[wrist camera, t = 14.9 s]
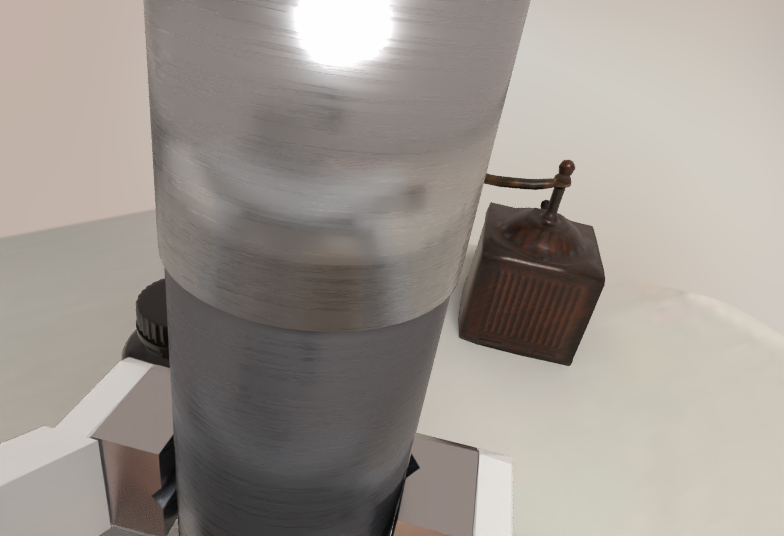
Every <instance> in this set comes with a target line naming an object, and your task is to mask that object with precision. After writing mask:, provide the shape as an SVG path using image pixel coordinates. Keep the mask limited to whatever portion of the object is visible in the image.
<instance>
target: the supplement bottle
mask: <svg viewBox="0 0 784 536" xmlns="http://www.w3.org/2000/svg"><path fill="white" fill-rule="evenodd" d="M136 315H137V321H136V328H137V329H136V330H135V331H134V332H133V333H132V334H131V336H130V337H129V339H128V340H127V342H126V344H125V346H124V349H123V352H122V358H121V360H124V359H126V358H128V357H130V358H134V359H137V360H141V361H144V362H148V363H151V364H155V365H160V366H164V367H167V368H170V360H169V341H168V323H167V304H166V286H165V279H161V280H159V281H157V282H154V283H152V285H149V286H147V287H146V289H144V290H142V292H141V294H140V295H139V296H138V300H137V301H136Z"/></svg>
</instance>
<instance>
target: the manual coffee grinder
mask: <svg viewBox="0 0 784 536" xmlns="http://www.w3.org/2000/svg"><path fill="white" fill-rule="evenodd" d="M574 170H575V165H574V163H573V162H572V161H571V160H564V161H563V162H562V163H561V164H560V166H559V174H557V175H555V177H554V179H522V178H511V177H502V176H495V175H490V174H487V173H486V176H485V180H484V183H485V184H490V185H494V186H499V187H509V188H520V189H533V190H537V189H546V188H552V187H554V190H553V193H552V196H551V199H550V201H548V200H544V201H542V203H541V209H538V208H513V207H508V206H503V205H500V204H495V203H490V205H489V207H488V210H487V212H486V217H485V223H484V226H483V229H482V233H481V236H480V239H479V242H478V245H477V249H476V252H475V255H474V259H473V262H472V266H471V269H470V272H469V275H468V277H467V279H466V282H465V286H464V289H463V294H462V299H461V305H460V312H459V331H460V338H461V339H464V340H467V341H469V342H472V343H475V344H478V345H482V346H486V347H490V348H493V349H497V350H501V351H505V352H509V353H513V354H517V355H521V356H526V357H531V358H535V359H540V360H545V361H550V362H554V363H559V364H564V365H569V366H570V365H571V363H572V361H573V357H574V355H575V353H576V351H577V348H578V346H579V344H580V341H581V339H582V337H583V334H584V332H585V330H586V328H587V325H588V323H589V321H590V318H591V316H592V313H593V311H594V308H595V306H596V304H597V301H598V299H599V296H600V294H601V292H602V289H603V287H604V283H605V276H604V269H603V265H602V261H601V257H600V253H599V249H598V245H597V241H596V236H595V233H594V229H593V227H592V226H589V225H585V224H581V223H576V222H573V221H570V220H568V219H566V218H565V217H564V216H562V215H561V214H558V213H557V211H558V207H559V204H560V202H561V199H562V196H563V193H564V191H565V188H566V187H569V186H570V185H571V178H570V175H571V174H572V173H573V171H574Z"/></svg>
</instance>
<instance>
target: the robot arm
mask: <svg viewBox="0 0 784 536" xmlns="http://www.w3.org/2000/svg"><path fill="white" fill-rule="evenodd" d="M177 517H178V508H177V490H176V471H175V453H174V434H173V416H172V397H171V378H170V368H167V367H164V366H160V365H155V364H151V363H148V362H144V361H141V360H137V359H134V358H130V357H128V358H126V359H124V360H121V361H119V362H118V363H117V364H116V365H115V366H114V367H113V368H112V369H111V370H110V371H109V372H108V373H107V374H106V375H105V376H104V377H103V378H102V379H101V380H100V381H99V382H98V383H97V384H96V385H95V387H94V388H93V389H92V390H91V391H90V392H89V393H88V394H87V395H86V396H85V397H84V398H83V399H82V400H81V401H80V402H79V403H78V404H77V405H76V406H75V407H74V408H73V409H72V410H71V411H70V412H69V413H68V414H67V415H66V416H65V417H64V418H63V419H62V420H61V421H60V422H59V423H58V424H57V425H56V426H55V427H54V428H52V427H48V426H43V427H40V428H38V429H35V430H33V431H30V432H28V433H25V434H23V435H20V436H18V437H15V438H13V439H10V440H8V441H6V442H3V443H1V444H0V536H99V535H101V534H102V533H104V532H105V531H107V530H108V529H110V528H111V524H114V525H117V526H121V527H125V528H129V529H133V530H137V531H141V532H145V533H149V534H153V535H157V536H166V535H167V534H168V532H169V530H170V529H171V527H172V525H173V524H174V522H175V520H176V519H177ZM391 536H513V461H512V459H511V457H510V456H507V455H503V454H499V453H495V452H491V451H487V450H483V449H478V450H477V448H475V447H471V446H467V445H463V444H459V443H455V442H451V441H447V440H443V439H439V438H435V437H431V436H427V435H423V434H419V433H416V434H415V438H414V442H413V446H412V450H411V454H410V458H409V462H408V466H407V470H406V474H405V478H404V482H403V486H402V490H401V494H400V498H399V502H398V506H397V510H396V514H395V518H394V523H393V527H392V534H391Z"/></svg>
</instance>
